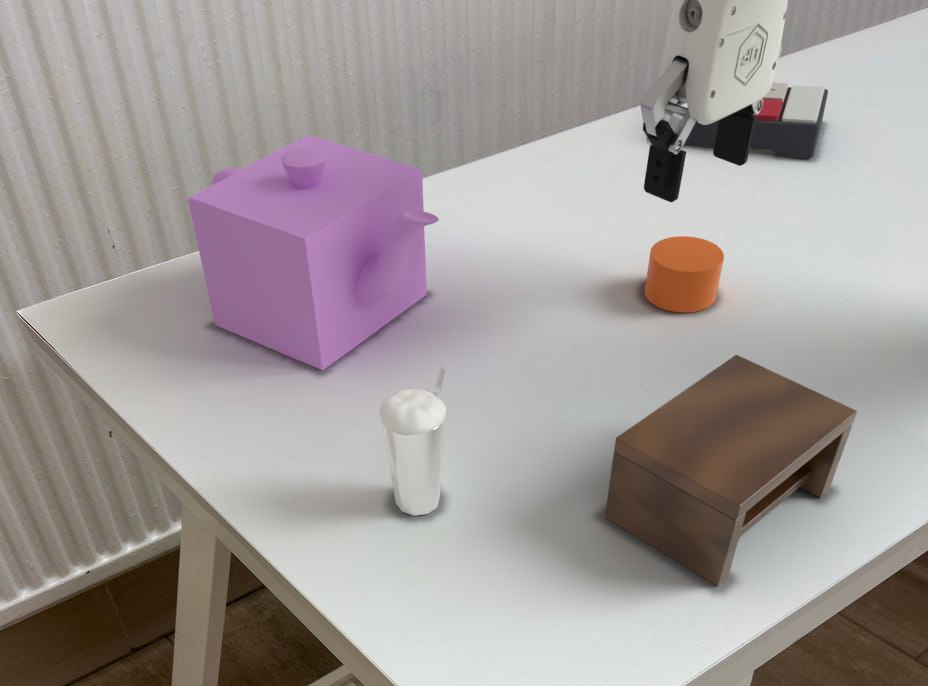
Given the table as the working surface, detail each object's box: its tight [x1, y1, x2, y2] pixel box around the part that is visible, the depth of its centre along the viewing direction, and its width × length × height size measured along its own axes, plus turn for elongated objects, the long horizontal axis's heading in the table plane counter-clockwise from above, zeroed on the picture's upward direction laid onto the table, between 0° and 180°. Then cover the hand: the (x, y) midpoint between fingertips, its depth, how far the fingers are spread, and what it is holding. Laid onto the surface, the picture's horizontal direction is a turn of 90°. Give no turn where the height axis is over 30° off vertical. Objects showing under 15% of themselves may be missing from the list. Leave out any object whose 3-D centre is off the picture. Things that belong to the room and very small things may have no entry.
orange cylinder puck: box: [644, 235, 725, 314], centre depth 90 cm, size 7×7×4 cm
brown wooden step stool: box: [604, 354, 858, 587], centre depth 69 cm, size 10×14×7 cm
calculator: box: [684, 82, 829, 159], centre depth 113 cm, size 11×4×15 cm
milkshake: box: [379, 367, 447, 517], centre depth 69 cm, size 4×5×10 cm
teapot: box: [187, 134, 440, 371], centre depth 85 cm, size 15×25×14 cm, turn 54°
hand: (695, 177), depth 83 cm, fingers open, 9 cm apart
